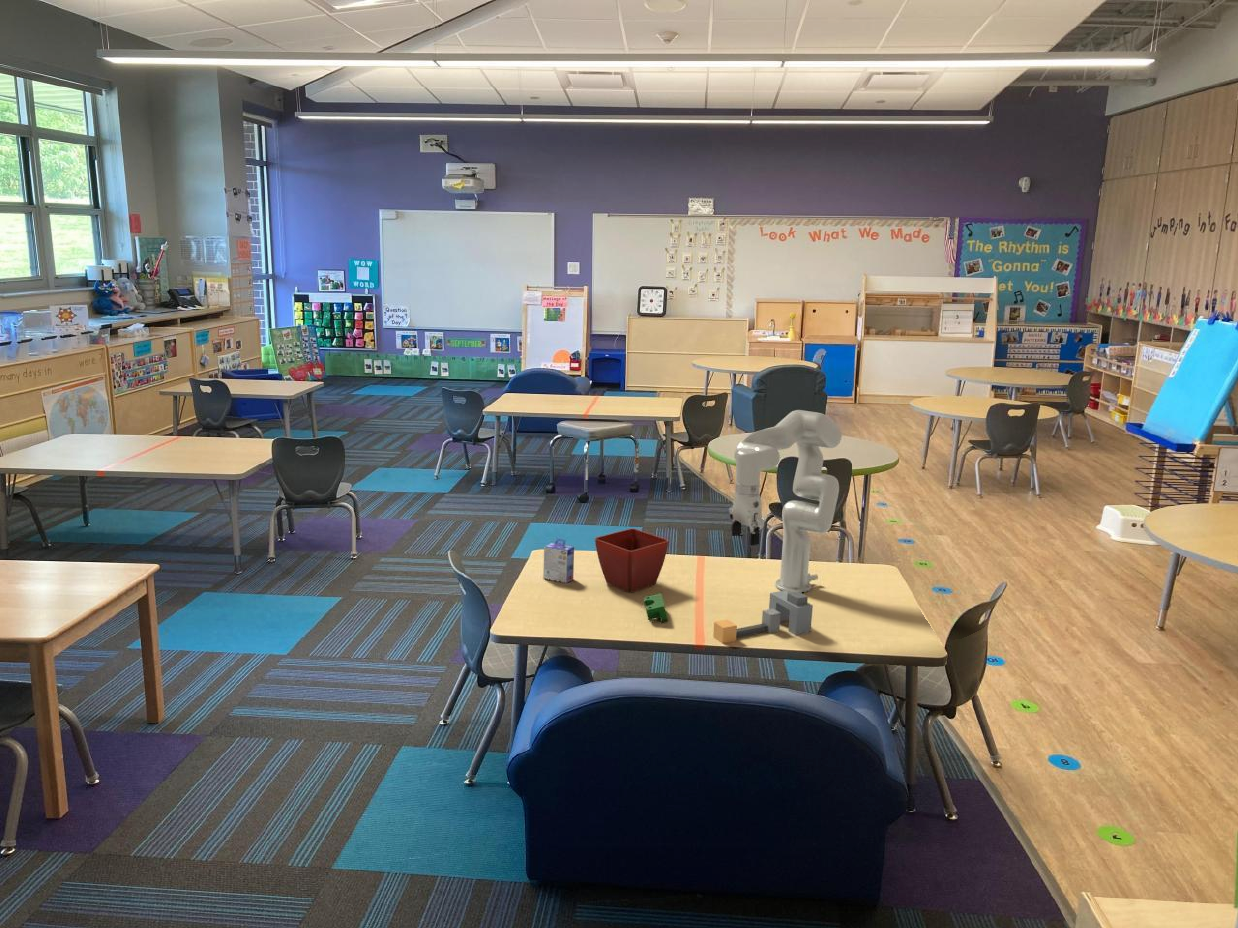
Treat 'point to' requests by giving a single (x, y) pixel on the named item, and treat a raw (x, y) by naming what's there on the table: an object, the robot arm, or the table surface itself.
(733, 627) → the cube-ended rod
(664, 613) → the clamp
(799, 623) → the housing
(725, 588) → the table surface
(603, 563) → the plant pot
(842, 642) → the table surface
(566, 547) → the ink cartridge box
